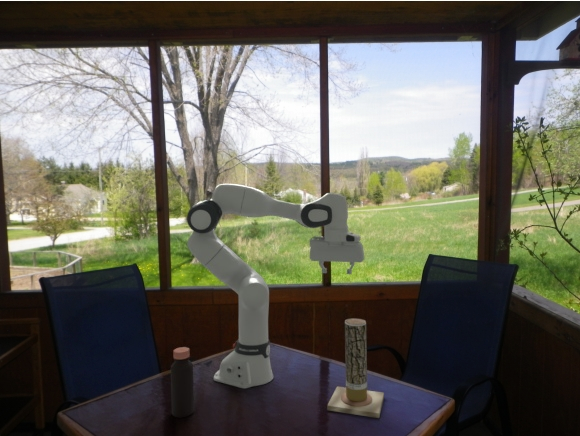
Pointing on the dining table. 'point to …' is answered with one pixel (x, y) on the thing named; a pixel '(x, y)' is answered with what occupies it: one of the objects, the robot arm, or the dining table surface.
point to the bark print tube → (356, 359)
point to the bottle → (182, 383)
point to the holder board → (356, 403)
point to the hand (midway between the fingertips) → (336, 273)
